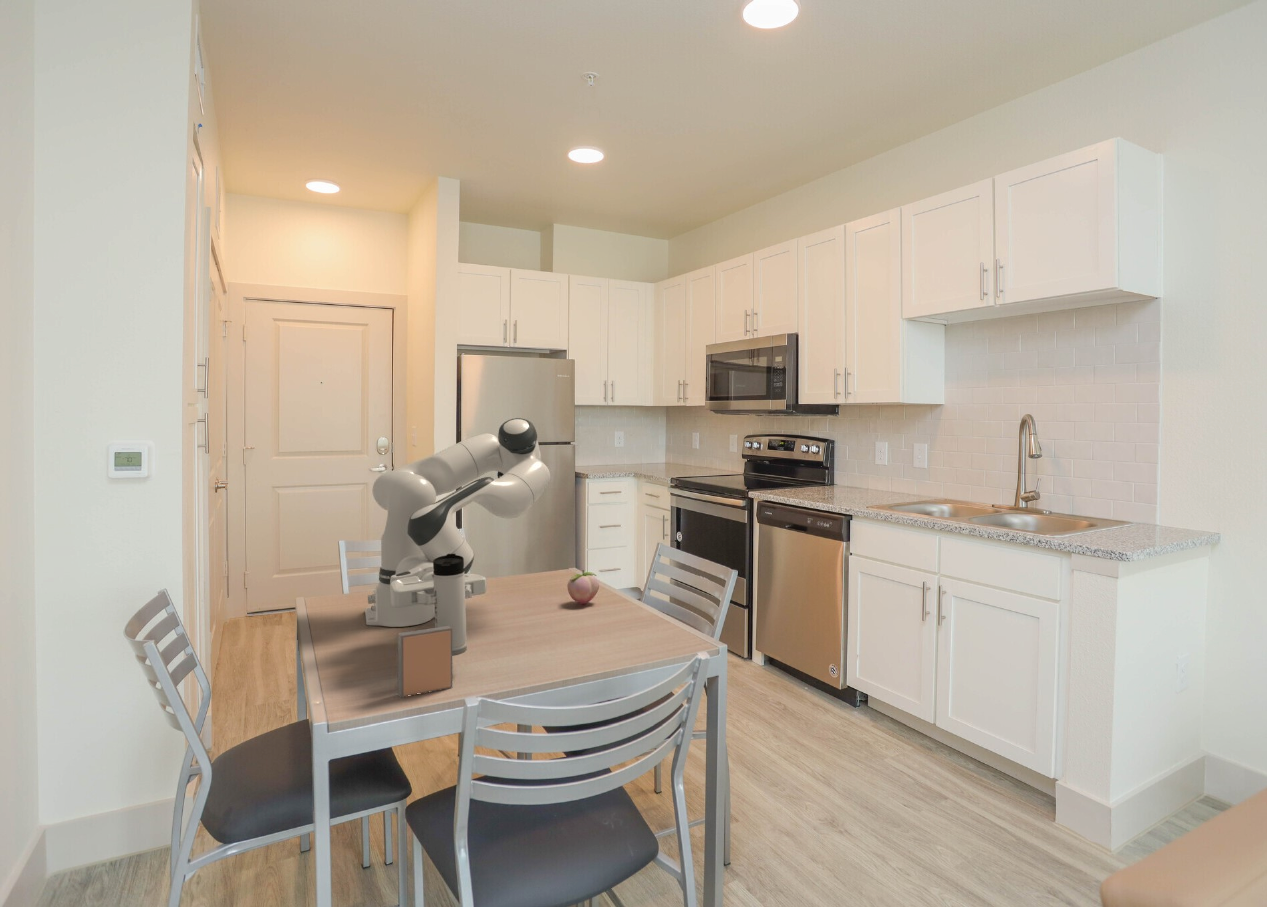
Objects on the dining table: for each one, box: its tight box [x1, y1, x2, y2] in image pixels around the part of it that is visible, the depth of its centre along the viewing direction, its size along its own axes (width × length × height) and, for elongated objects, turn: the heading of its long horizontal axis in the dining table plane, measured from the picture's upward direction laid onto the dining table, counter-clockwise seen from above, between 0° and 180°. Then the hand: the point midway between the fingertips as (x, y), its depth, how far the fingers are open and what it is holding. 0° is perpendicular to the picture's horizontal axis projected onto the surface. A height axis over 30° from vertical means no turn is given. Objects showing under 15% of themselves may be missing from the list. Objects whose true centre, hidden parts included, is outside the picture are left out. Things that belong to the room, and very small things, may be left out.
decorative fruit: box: [567, 569, 600, 605], centre depth 207 cm, size 9×8×10 cm
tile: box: [397, 626, 453, 698], centre depth 141 cm, size 2×10×12 cm, turn 123°
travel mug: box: [433, 554, 468, 657], centre depth 150 cm, size 6×7×20 cm
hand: (450, 597), depth 149 cm, fingers closed on travel mug, 6 cm apart
